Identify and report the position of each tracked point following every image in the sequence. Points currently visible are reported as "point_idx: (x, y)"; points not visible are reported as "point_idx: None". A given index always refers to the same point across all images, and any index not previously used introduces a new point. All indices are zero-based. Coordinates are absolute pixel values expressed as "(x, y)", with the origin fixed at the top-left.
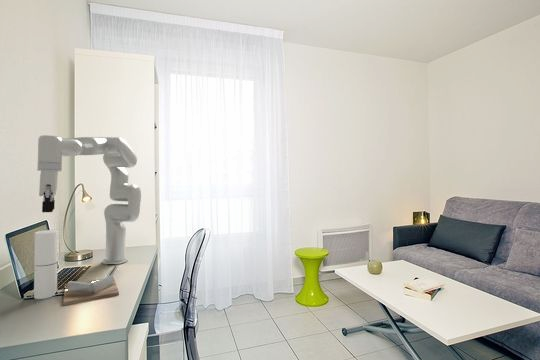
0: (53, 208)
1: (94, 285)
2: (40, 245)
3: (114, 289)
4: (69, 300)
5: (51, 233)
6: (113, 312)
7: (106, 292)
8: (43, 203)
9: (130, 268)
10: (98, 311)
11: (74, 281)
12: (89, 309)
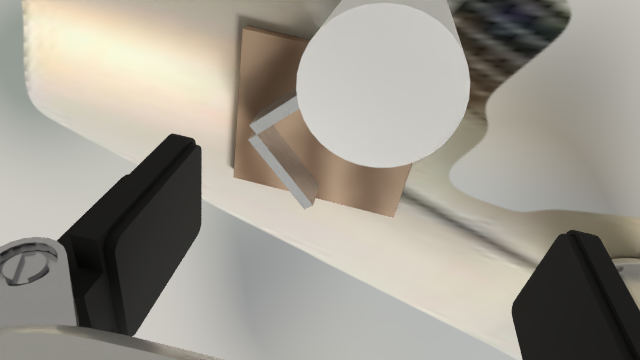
0: (515, 315)
1: (251, 136)
2: (330, 14)
3: (262, 176)
4: (245, 47)
5: (302, 110)
6: (121, 119)
7: (250, 151)
8: (95, 224)
9: (470, 287)
10: (145, 93)
11: None
12: (171, 79)
